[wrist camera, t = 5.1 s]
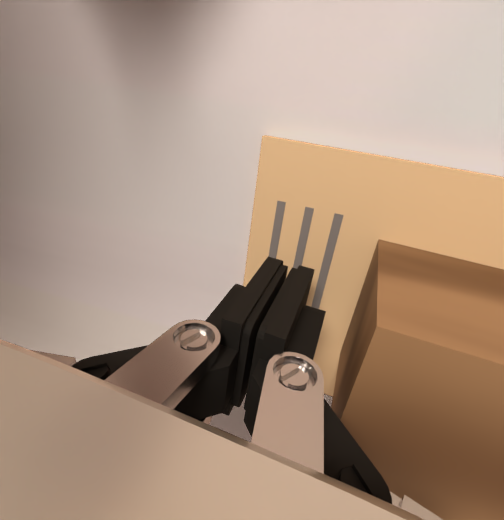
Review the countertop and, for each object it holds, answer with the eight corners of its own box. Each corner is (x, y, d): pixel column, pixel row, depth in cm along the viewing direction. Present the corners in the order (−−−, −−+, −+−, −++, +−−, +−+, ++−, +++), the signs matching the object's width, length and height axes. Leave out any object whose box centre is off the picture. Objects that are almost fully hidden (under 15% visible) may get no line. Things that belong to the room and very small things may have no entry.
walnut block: (378, 239, 11) (376, 325, 7) (553, 281, 10) (687, 420, 5) (340, 351, 13) (321, 469, 9) (477, 397, 12) (529, 558, 8)
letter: (265, 135, 11) (262, 136, 11) (894, 245, 7) (914, 250, 7) (236, 356, 16) (233, 361, 15) (615, 491, 12) (620, 500, 12)
